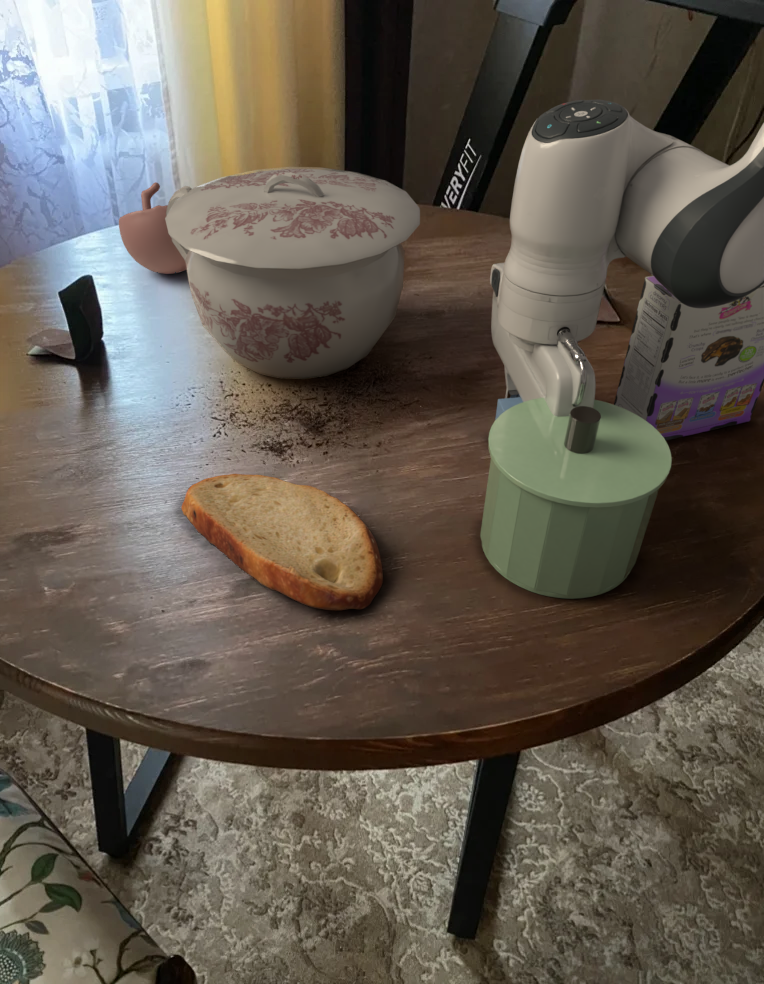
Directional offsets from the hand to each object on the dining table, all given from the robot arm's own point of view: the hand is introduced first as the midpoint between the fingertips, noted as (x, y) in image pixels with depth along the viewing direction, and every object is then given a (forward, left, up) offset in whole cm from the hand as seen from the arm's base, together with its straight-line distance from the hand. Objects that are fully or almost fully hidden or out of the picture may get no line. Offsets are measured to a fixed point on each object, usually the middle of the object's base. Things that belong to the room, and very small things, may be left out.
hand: (527, 431), depth 84 cm
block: (0, 0, -2) cm, 3 cm away
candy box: (-18, -3, -3) cm, 18 cm away
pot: (+1, +14, -2) cm, 14 cm away
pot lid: (+1, +14, +8) cm, 16 cm away
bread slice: (+26, +11, -3) cm, 28 cm away
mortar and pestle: (+37, -48, -3) cm, 61 cm away
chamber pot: (+21, -24, -3) cm, 32 cm away
